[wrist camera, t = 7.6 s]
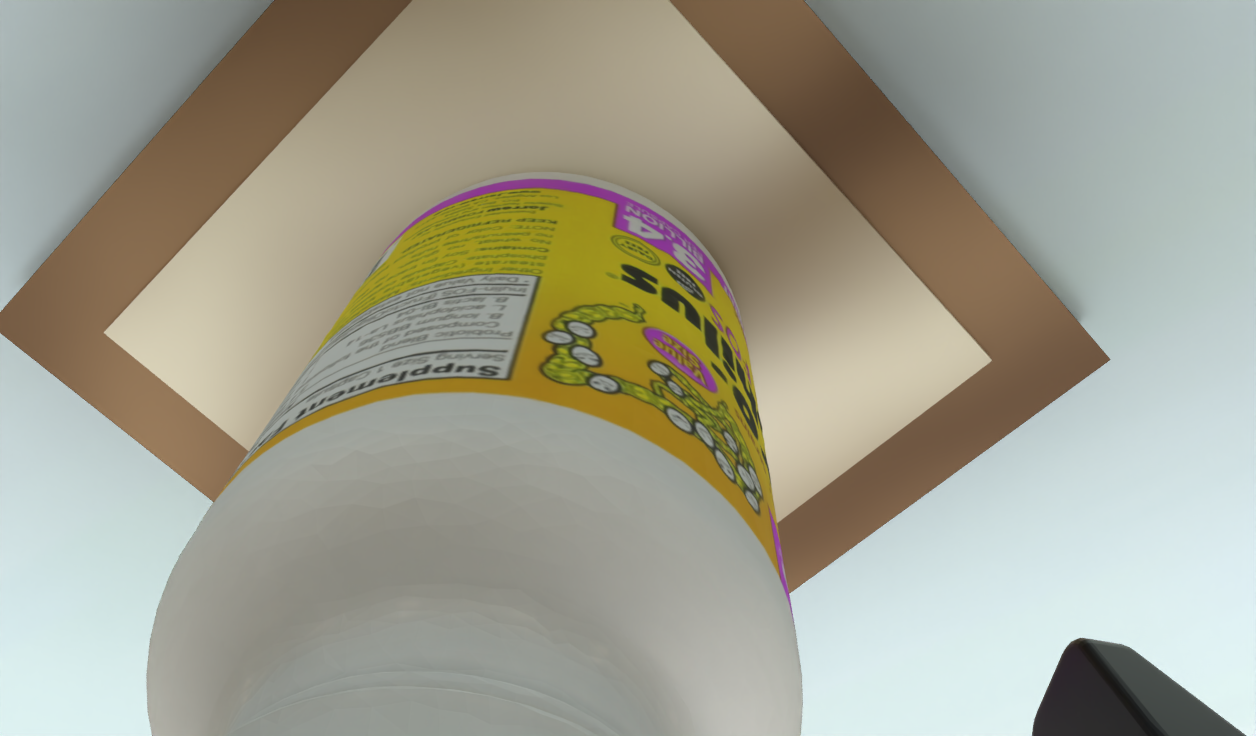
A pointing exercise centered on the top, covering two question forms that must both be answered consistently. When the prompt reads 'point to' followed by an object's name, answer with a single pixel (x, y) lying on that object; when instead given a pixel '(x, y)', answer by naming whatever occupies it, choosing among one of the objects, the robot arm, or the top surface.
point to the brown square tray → (575, 144)
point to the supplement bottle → (500, 500)
